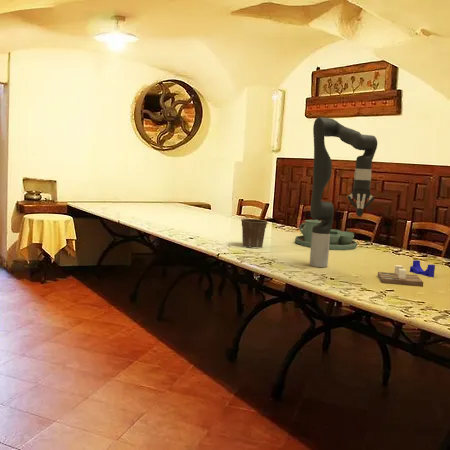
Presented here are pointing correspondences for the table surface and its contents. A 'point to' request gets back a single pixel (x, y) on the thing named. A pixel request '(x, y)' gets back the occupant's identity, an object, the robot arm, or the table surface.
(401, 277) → the tab
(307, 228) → the green tea tray
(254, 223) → the plant pot
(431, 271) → the cable clip
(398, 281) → the switch board
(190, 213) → the table surface
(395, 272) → the tab
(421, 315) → the table surface
